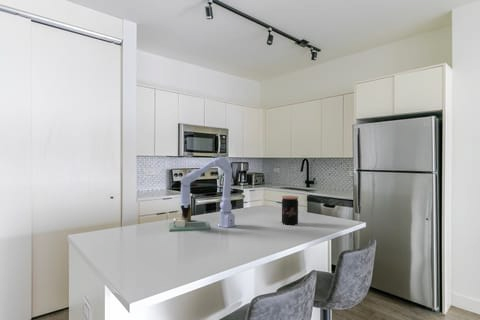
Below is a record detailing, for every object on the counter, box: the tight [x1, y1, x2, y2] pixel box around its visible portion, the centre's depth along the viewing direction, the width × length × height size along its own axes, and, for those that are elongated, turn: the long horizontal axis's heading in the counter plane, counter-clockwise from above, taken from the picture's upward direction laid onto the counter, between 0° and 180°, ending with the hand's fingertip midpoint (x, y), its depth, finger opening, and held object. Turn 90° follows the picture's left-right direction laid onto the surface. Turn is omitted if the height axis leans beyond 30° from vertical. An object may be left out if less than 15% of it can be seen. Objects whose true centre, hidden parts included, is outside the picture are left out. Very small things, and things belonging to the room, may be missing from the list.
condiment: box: [181, 203, 195, 222], centre depth 190 cm, size 7×8×12 cm
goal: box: [173, 217, 185, 228], centre depth 173 cm, size 6×8×4 cm
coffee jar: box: [281, 195, 299, 226], centre depth 186 cm, size 11×11×18 cm
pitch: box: [168, 221, 211, 232], centre depth 174 cm, size 24×16×2 cm, turn 104°
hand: (185, 217), depth 174 cm, fingers closed on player, 3 cm apart
